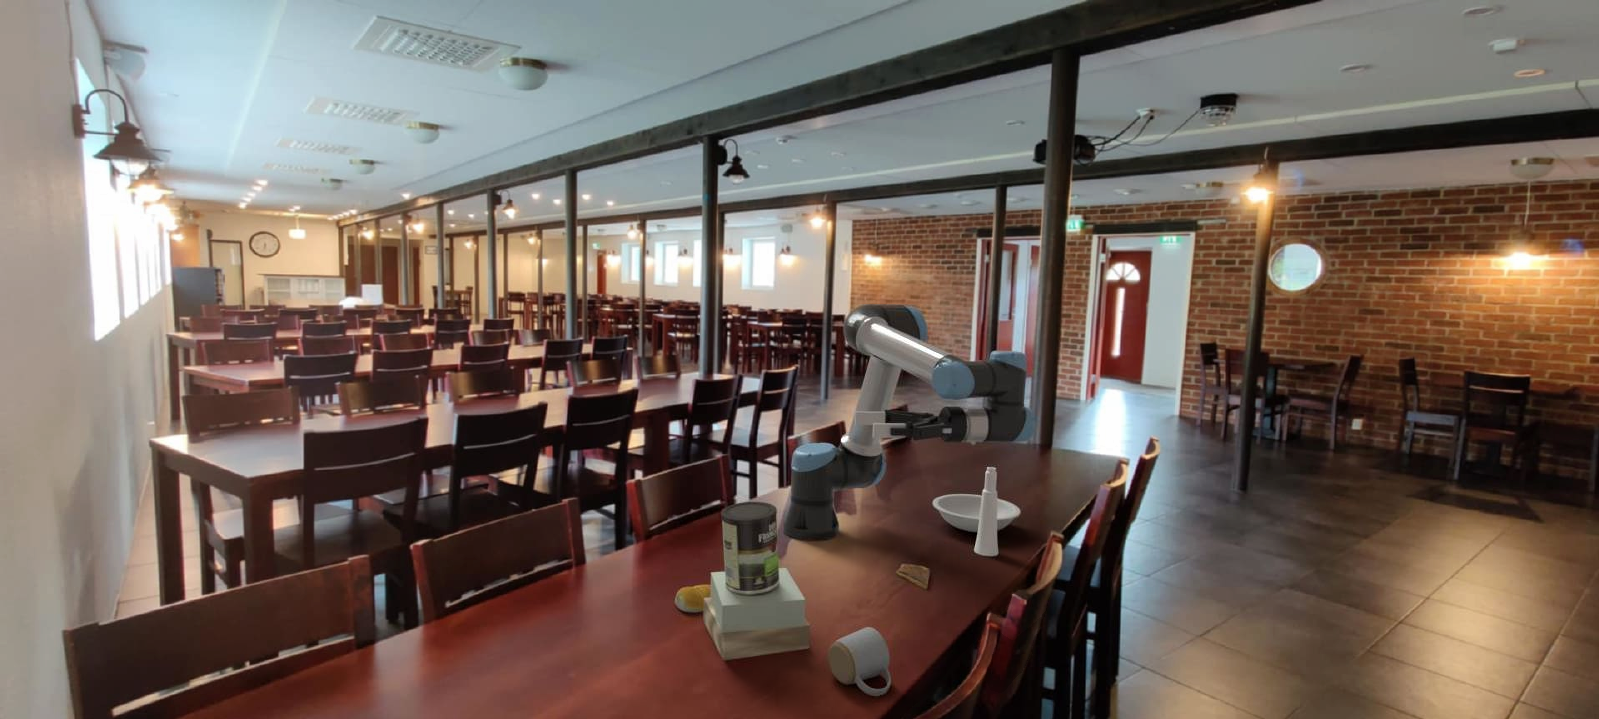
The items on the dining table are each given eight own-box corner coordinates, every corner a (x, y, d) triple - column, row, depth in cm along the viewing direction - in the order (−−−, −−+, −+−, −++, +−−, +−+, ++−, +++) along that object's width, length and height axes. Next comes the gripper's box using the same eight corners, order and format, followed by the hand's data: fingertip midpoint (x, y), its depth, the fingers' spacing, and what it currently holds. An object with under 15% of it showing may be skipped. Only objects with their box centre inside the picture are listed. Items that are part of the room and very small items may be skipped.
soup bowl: (1029, 526, 207) (1030, 504, 207) (1004, 550, 187) (1006, 525, 186) (949, 510, 220) (950, 489, 219) (918, 531, 200) (919, 507, 199)
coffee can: (789, 575, 138) (786, 504, 136) (762, 599, 129) (758, 523, 127) (743, 567, 142) (739, 498, 140) (714, 589, 133) (709, 516, 131)
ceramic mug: (823, 674, 123) (826, 631, 122) (859, 661, 128) (862, 619, 127) (865, 705, 114) (868, 659, 114) (902, 689, 119) (905, 645, 118)
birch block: (703, 622, 141) (703, 598, 141) (780, 613, 147) (781, 589, 146) (723, 663, 126) (724, 636, 126) (808, 651, 132) (810, 624, 131)
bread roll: (726, 607, 147) (727, 589, 147) (686, 617, 143) (686, 598, 142) (708, 592, 154) (709, 574, 154) (669, 601, 149) (669, 582, 149)
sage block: (710, 597, 141) (711, 572, 141) (784, 591, 145) (785, 567, 144) (721, 633, 127) (722, 605, 126) (804, 626, 131) (805, 599, 130)
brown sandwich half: (927, 592, 160) (927, 584, 160) (892, 588, 162) (893, 580, 161) (930, 573, 170) (930, 566, 170) (897, 570, 172) (898, 562, 172)
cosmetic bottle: (972, 554, 183) (977, 469, 181) (975, 546, 189) (980, 464, 187) (996, 558, 181) (1002, 472, 179) (999, 550, 186) (1005, 466, 184)
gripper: (985, 455, 140) (880, 456, 136) (938, 430, 165) (848, 430, 161) (988, 417, 139) (882, 416, 136) (940, 397, 164) (849, 396, 160)
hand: (863, 424), depth 148 cm, fingers open, 13 cm apart
